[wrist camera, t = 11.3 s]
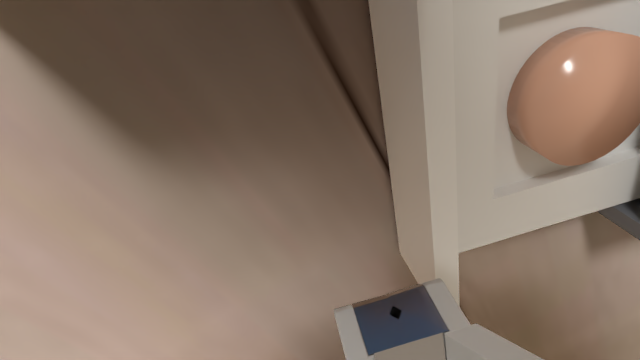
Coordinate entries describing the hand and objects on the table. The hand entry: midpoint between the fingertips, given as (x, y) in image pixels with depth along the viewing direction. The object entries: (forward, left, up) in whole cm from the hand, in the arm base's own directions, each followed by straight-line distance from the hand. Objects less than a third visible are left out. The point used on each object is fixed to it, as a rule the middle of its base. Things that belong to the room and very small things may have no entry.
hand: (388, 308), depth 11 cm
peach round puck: (+12, 0, -9) cm, 15 cm away
